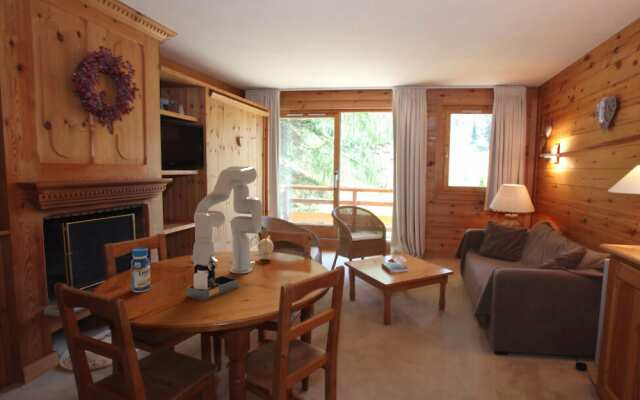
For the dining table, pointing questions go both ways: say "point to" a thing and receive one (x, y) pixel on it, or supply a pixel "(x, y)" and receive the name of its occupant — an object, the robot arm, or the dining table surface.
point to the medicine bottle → (203, 279)
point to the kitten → (265, 248)
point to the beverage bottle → (140, 270)
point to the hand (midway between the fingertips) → (204, 276)
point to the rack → (213, 288)
